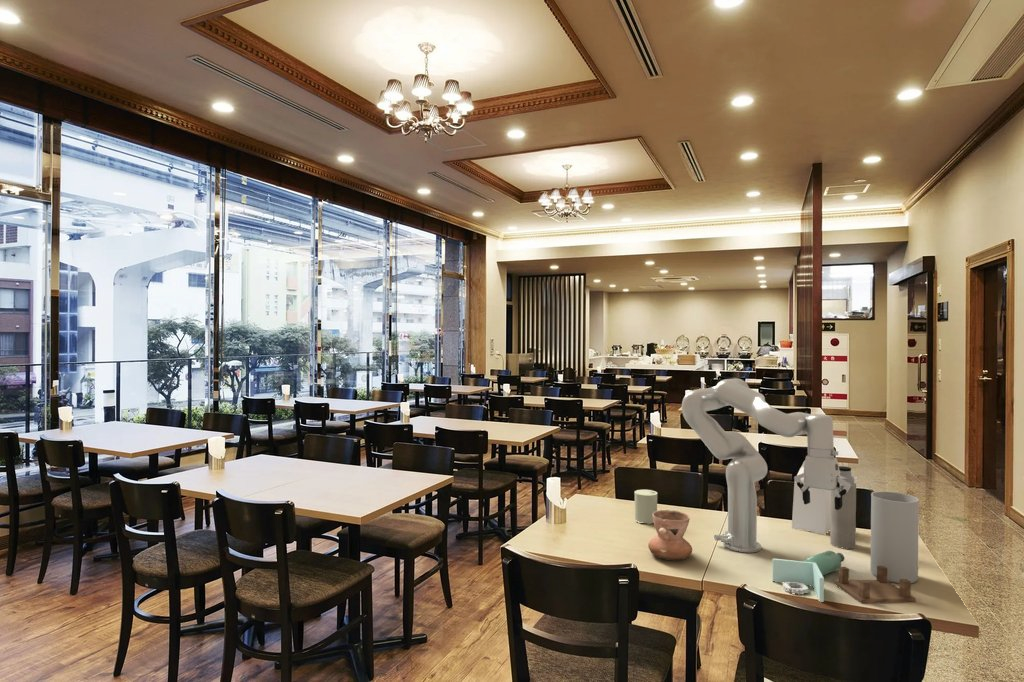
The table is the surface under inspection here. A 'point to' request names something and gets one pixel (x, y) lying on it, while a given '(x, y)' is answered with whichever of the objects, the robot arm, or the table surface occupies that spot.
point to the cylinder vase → (895, 535)
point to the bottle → (827, 561)
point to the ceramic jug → (670, 535)
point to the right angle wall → (798, 576)
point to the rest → (875, 588)
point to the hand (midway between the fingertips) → (822, 506)
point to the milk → (811, 509)
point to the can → (645, 505)
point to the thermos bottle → (844, 514)
